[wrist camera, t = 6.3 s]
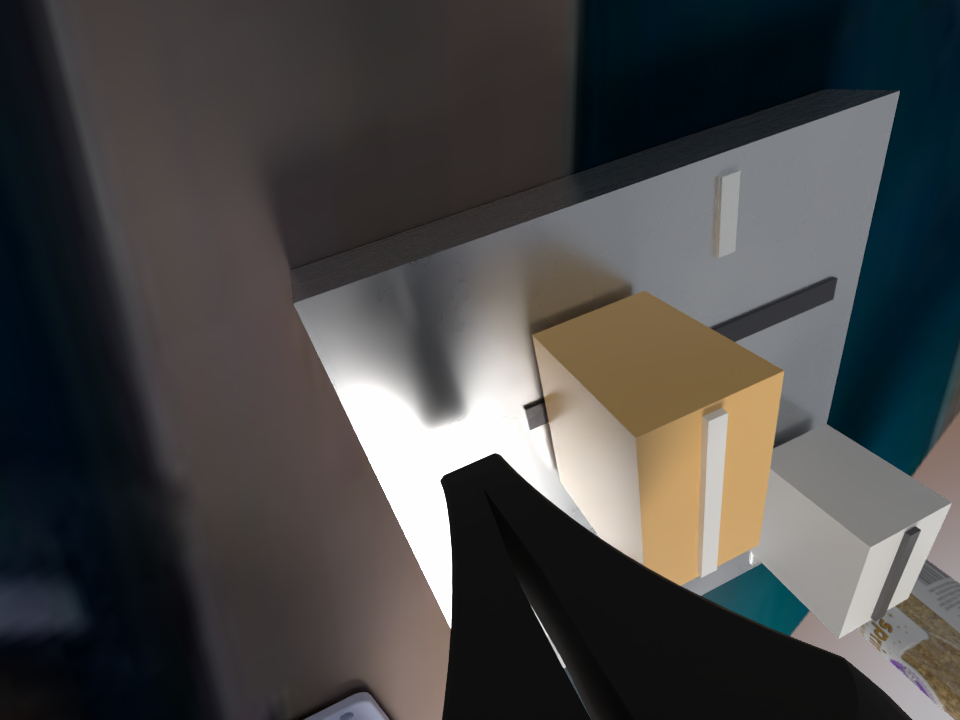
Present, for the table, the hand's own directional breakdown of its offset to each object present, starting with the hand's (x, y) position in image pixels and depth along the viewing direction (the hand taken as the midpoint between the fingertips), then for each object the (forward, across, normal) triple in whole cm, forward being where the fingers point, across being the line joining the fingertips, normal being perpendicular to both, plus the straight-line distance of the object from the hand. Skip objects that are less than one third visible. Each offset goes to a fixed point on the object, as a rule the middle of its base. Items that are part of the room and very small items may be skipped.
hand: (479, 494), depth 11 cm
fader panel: (+4, -5, +4) cm, 8 cm away
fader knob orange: (+2, -4, 0) cm, 4 cm away
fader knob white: (+2, -11, +8) cm, 14 cm away
